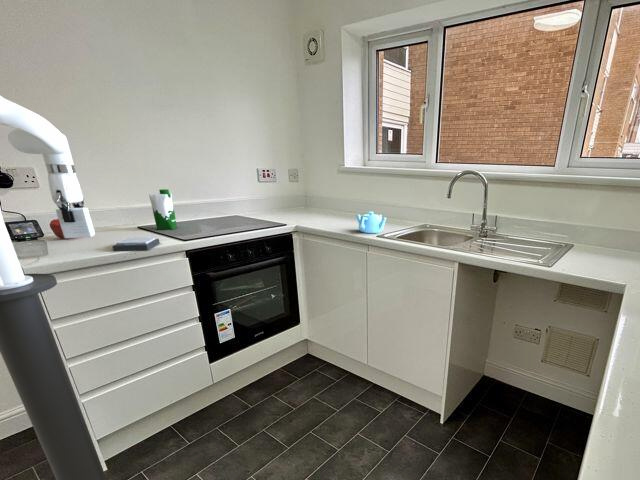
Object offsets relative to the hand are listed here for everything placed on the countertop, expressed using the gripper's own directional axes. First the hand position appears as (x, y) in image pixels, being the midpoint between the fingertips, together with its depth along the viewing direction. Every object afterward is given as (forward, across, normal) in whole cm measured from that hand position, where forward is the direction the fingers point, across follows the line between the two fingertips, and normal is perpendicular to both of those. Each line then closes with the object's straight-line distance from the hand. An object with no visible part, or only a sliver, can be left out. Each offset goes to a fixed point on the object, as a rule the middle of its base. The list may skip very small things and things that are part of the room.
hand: (75, 220), depth 131 cm
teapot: (+11, -40, +119) cm, 126 cm away
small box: (+6, 0, 0) cm, 6 cm away
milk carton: (+12, -54, +11) cm, 56 cm away
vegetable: (+12, -31, -21) cm, 39 cm away
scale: (+12, -10, +14) cm, 21 cm away
